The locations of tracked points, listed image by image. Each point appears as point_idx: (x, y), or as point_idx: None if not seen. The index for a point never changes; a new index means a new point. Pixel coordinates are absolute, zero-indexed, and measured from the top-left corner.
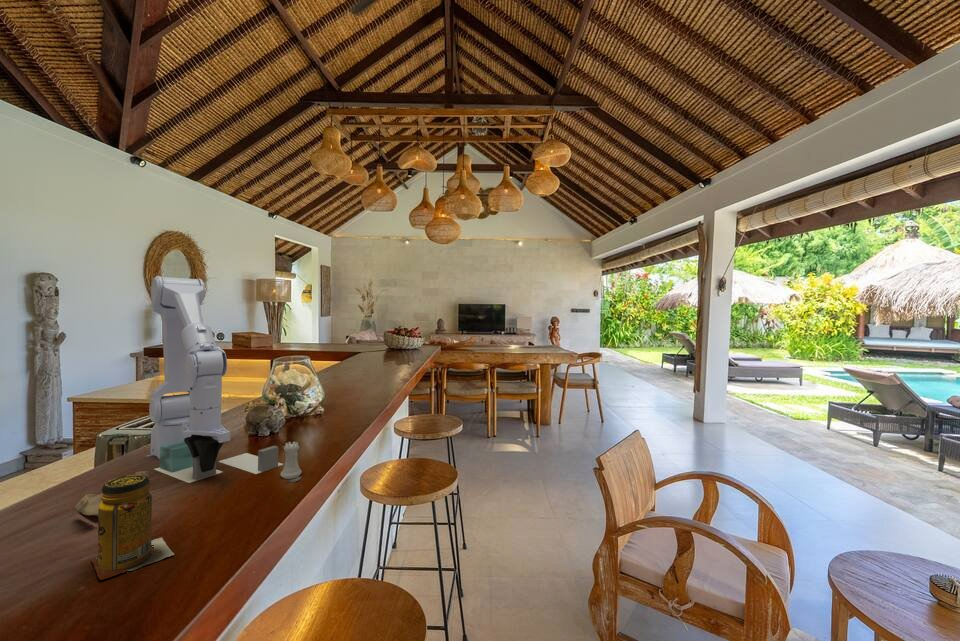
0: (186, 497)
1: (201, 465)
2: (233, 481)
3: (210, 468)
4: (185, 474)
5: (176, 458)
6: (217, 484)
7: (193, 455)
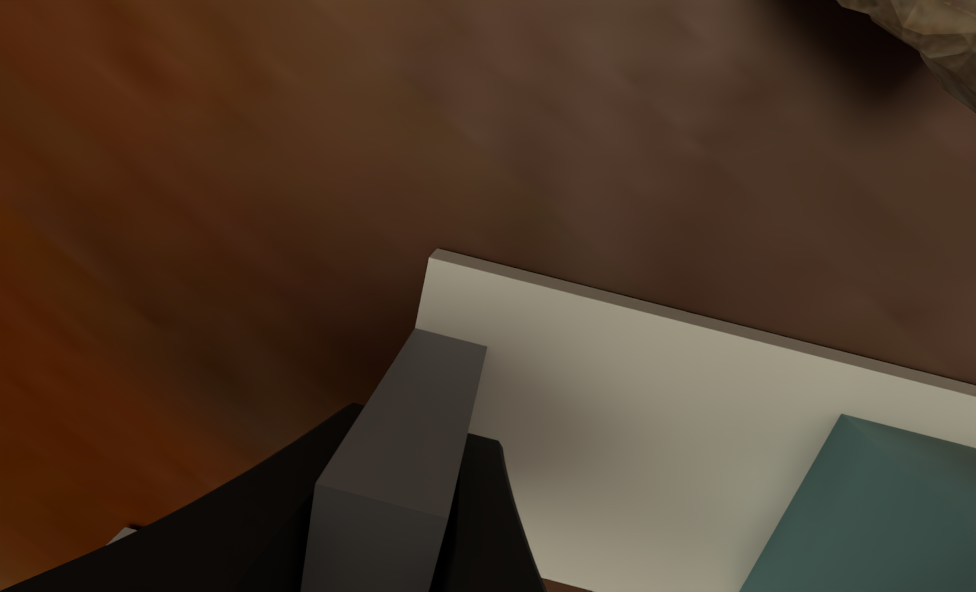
0: (243, 55)
1: (319, 439)
2: (213, 441)
3: None
4: (652, 410)
5: (937, 574)
6: (269, 365)
7: (481, 577)
